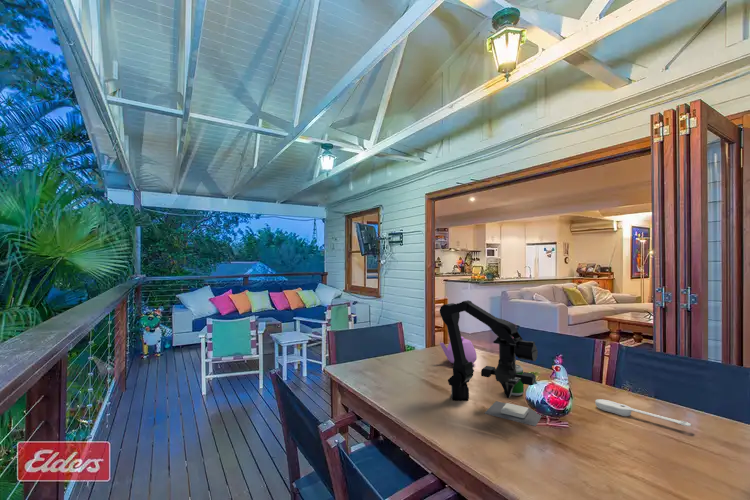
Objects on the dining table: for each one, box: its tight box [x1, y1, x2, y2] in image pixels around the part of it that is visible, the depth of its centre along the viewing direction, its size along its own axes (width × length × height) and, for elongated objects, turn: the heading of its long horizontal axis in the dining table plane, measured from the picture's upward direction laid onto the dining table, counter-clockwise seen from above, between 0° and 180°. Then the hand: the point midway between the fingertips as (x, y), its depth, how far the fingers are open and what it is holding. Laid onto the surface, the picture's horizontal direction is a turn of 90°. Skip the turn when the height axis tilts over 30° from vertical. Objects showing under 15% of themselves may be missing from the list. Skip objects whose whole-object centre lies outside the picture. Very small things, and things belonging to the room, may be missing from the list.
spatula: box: [594, 398, 692, 427], centre depth 126 cm, size 28×6×3 cm, turn 39°
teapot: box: [439, 336, 477, 366], centre depth 197 cm, size 20×20×15 cm
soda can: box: [510, 363, 525, 397], centre depth 151 cm, size 8×8×12 cm
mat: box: [484, 400, 543, 427], centre depth 132 cm, size 18×14×1 cm
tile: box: [501, 402, 530, 418], centre depth 132 cm, size 2×7×8 cm
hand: (508, 397), depth 133 cm, fingers closed
